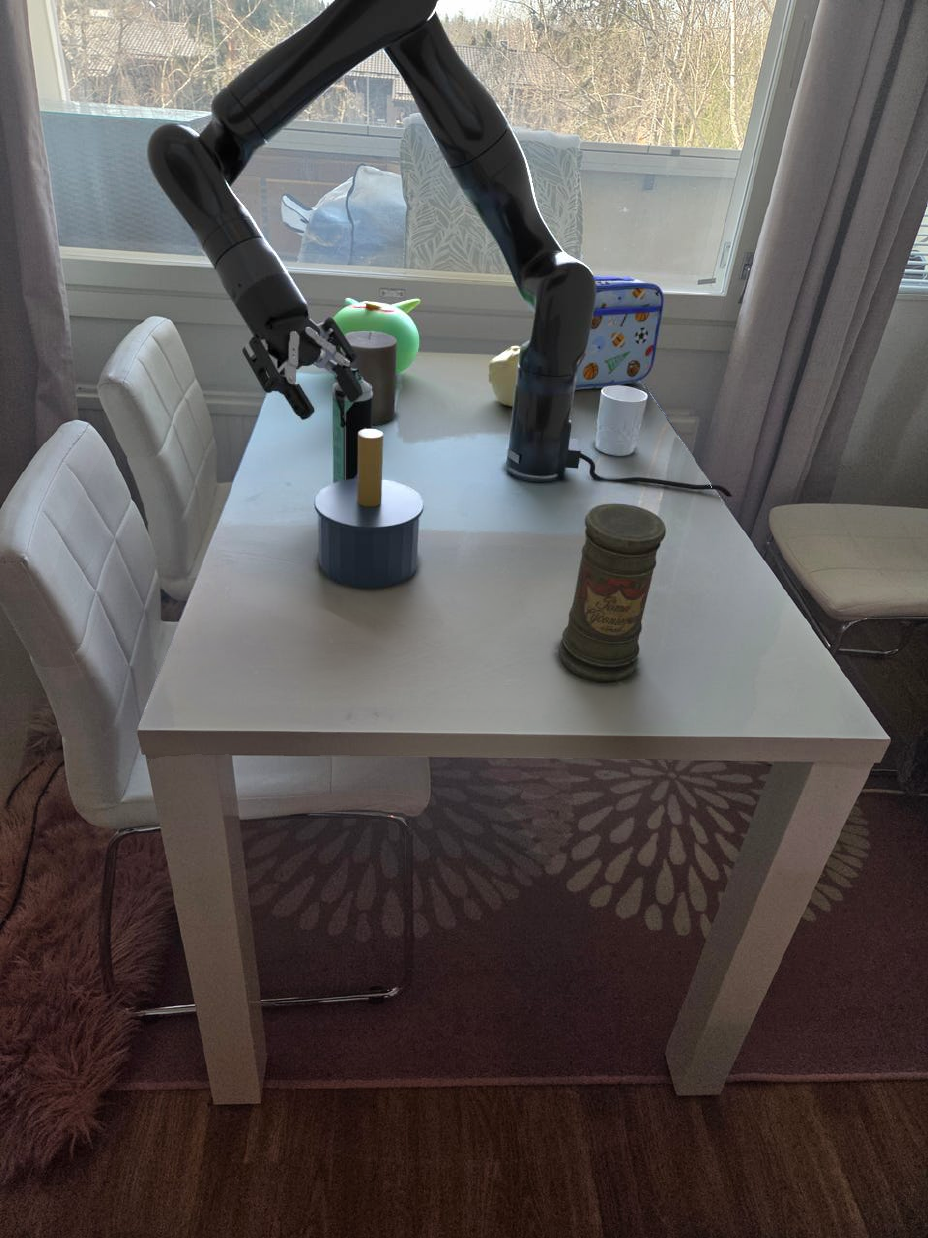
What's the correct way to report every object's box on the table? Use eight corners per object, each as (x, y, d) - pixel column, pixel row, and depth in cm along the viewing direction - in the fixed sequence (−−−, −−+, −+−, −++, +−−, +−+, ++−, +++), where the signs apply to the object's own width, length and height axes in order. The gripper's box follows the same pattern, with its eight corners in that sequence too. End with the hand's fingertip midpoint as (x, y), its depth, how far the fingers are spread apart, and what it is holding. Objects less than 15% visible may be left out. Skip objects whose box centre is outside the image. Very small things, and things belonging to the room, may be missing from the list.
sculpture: (508, 388, 173) (514, 334, 167) (560, 404, 168) (568, 348, 162) (476, 402, 165) (481, 345, 159) (529, 419, 160) (536, 361, 154)
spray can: (364, 513, 124) (366, 377, 113) (328, 507, 125) (326, 371, 113) (375, 497, 128) (378, 365, 117) (340, 491, 129) (339, 359, 118)
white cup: (609, 460, 147) (619, 403, 141) (583, 442, 153) (592, 387, 147) (645, 454, 150) (657, 399, 145) (619, 437, 156) (629, 383, 150)
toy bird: (318, 380, 168) (316, 303, 160) (342, 355, 182) (342, 283, 174) (408, 392, 167) (411, 315, 158) (425, 366, 181) (429, 293, 172)
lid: (425, 490, 114) (429, 416, 109) (420, 539, 103) (425, 460, 97) (322, 482, 114) (321, 408, 108) (306, 532, 102) (304, 452, 97)
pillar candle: (405, 414, 157) (409, 331, 149) (373, 429, 150) (374, 343, 142) (363, 401, 161) (364, 319, 153) (329, 415, 154) (328, 330, 146)
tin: (418, 543, 118) (421, 487, 113) (413, 592, 108) (417, 533, 103) (326, 536, 118) (325, 480, 113) (313, 585, 107) (311, 525, 103)
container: (552, 636, 102) (574, 499, 92) (625, 637, 103) (656, 501, 93) (566, 683, 95) (592, 540, 85) (645, 683, 96) (680, 542, 86)
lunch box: (541, 397, 170) (557, 280, 158) (517, 379, 178) (529, 267, 166) (654, 386, 181) (677, 277, 169) (626, 370, 189) (646, 264, 176)
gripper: (229, 279, 95) (308, 406, 97) (319, 262, 105) (389, 377, 107) (201, 317, 101) (276, 437, 102) (289, 298, 111) (356, 407, 112)
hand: (334, 407), depth 104 cm, fingers open, 8 cm apart
